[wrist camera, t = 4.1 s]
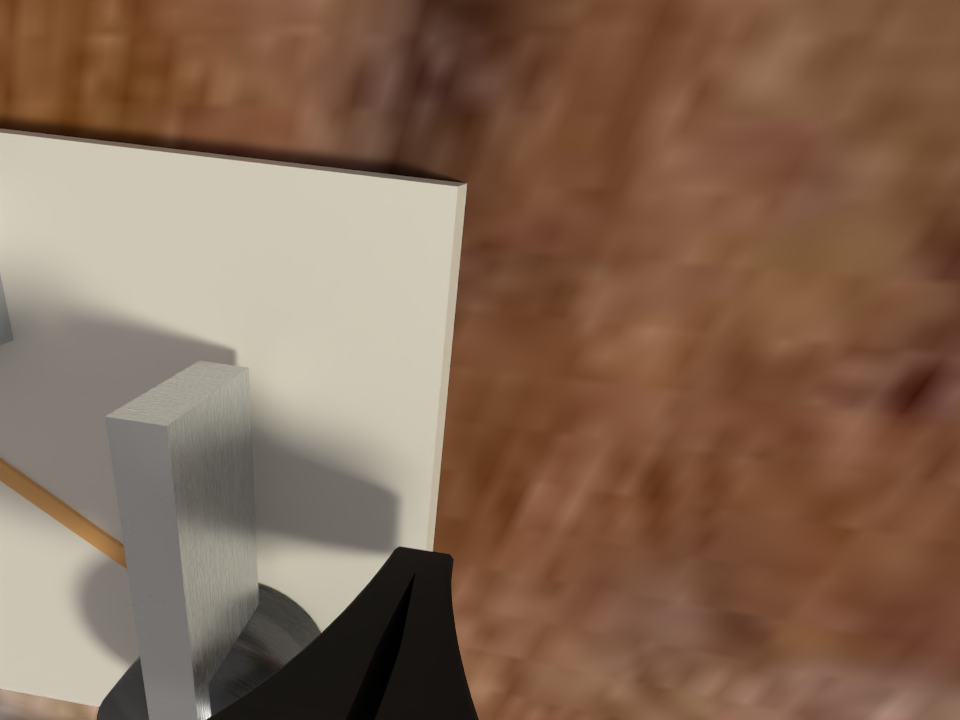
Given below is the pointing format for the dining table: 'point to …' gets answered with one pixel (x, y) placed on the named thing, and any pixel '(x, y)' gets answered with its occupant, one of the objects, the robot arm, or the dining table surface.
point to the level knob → (194, 550)
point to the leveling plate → (219, 339)
